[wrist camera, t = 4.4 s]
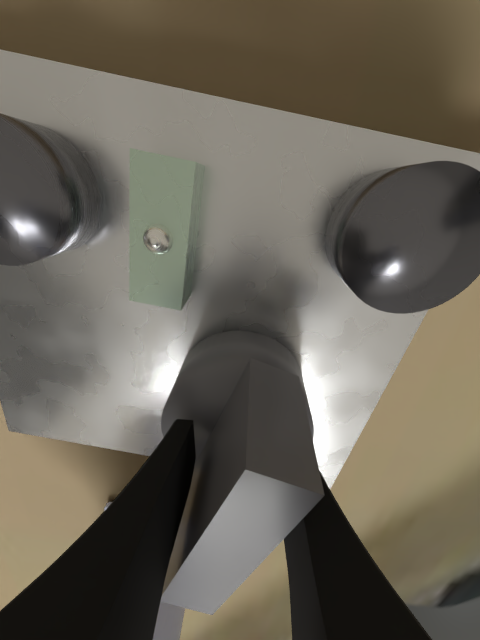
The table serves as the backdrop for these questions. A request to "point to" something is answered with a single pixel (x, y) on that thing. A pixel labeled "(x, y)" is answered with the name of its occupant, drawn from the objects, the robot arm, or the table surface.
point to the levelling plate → (209, 249)
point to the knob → (239, 463)
